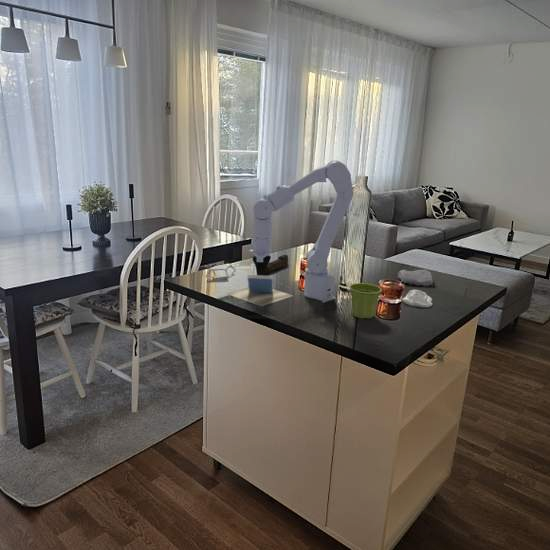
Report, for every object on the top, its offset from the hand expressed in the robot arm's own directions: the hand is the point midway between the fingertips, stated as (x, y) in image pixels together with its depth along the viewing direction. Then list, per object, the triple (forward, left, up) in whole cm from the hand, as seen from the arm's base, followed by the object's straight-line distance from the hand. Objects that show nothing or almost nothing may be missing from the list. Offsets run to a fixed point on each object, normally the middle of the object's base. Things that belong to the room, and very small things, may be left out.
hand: (261, 278), depth 157 cm
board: (-1, +2, -6) cm, 6 cm away
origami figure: (+22, -3, -6) cm, 23 cm away
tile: (0, 0, -5) cm, 5 cm away
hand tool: (+19, -27, -6) cm, 34 cm away
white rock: (-39, -33, -6) cm, 51 cm away
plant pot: (-33, -10, -6) cm, 35 cm away
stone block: (-27, -54, -6) cm, 61 cm away
